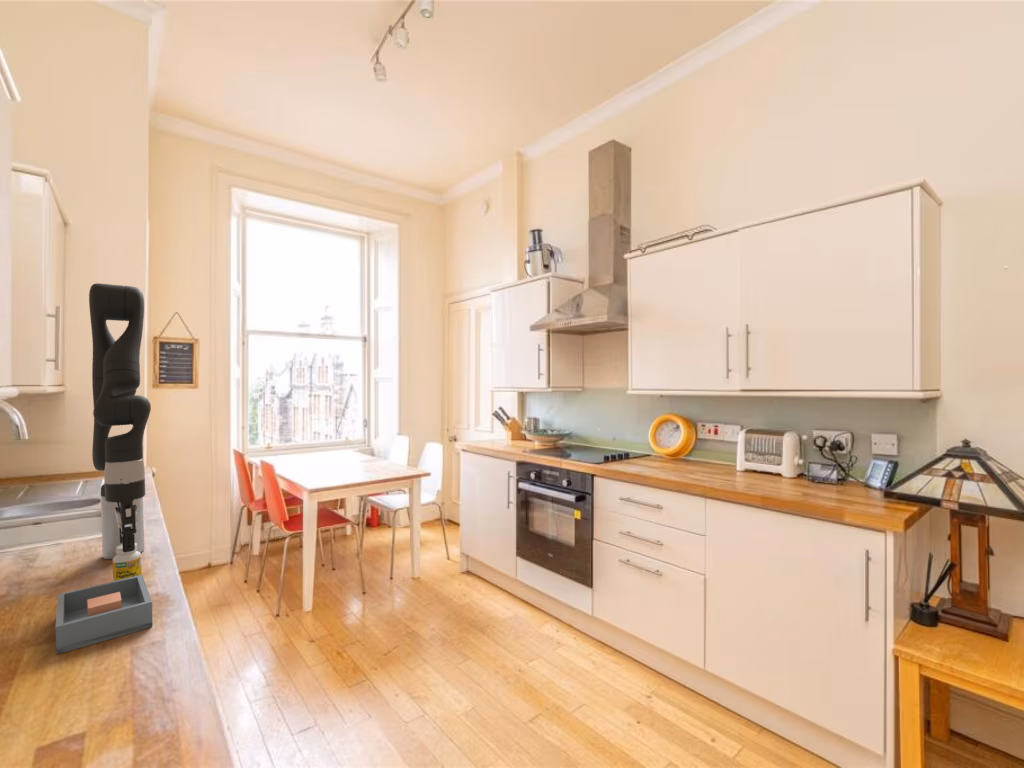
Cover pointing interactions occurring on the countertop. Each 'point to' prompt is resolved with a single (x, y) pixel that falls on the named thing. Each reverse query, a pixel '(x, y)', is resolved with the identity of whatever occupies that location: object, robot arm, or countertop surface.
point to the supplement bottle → (126, 564)
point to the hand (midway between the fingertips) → (127, 546)
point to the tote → (85, 630)
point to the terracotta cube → (104, 604)
